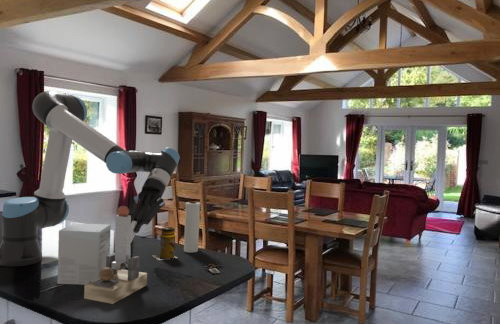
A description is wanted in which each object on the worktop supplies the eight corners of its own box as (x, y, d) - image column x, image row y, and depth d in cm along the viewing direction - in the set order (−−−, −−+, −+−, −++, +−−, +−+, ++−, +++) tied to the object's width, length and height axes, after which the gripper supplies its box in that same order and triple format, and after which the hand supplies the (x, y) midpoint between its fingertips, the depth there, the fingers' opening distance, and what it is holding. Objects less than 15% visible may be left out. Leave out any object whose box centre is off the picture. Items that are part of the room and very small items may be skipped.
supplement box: (110, 273, 150) (111, 224, 150) (98, 285, 137) (99, 231, 137) (72, 271, 150) (73, 222, 149) (56, 284, 137) (57, 230, 136)
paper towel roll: (186, 253, 181) (188, 203, 180) (181, 250, 187) (183, 201, 186) (202, 252, 185) (204, 203, 184) (197, 248, 190) (199, 201, 189)
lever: (118, 263, 137) (118, 204, 136) (134, 266, 136) (134, 205, 134) (107, 268, 132) (108, 206, 131) (124, 271, 130) (125, 208, 129)
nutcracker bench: (120, 280, 143) (121, 249, 142) (146, 285, 140) (147, 253, 139) (84, 298, 126) (85, 263, 125) (112, 303, 123) (114, 267, 122)
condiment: (178, 258, 174) (179, 229, 173) (158, 260, 169) (159, 230, 168) (171, 254, 180) (172, 225, 179) (151, 256, 175) (152, 227, 175)
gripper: (136, 175, 151) (105, 231, 136) (169, 178, 147) (141, 235, 132) (143, 189, 156) (114, 244, 141) (175, 192, 152) (149, 248, 137)
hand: (127, 240), depth 136 cm, fingers closed
